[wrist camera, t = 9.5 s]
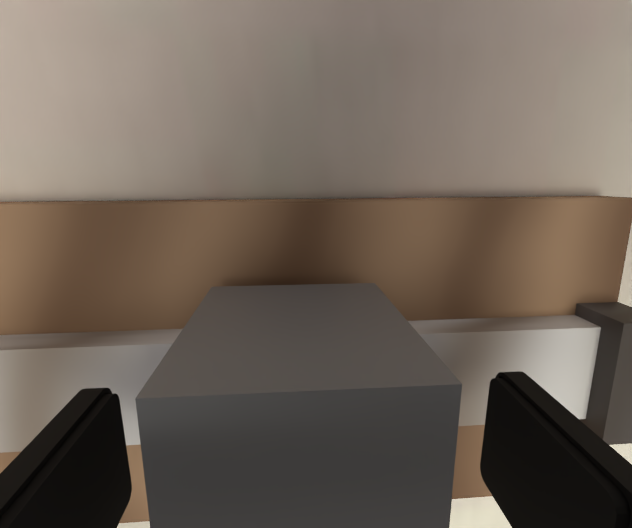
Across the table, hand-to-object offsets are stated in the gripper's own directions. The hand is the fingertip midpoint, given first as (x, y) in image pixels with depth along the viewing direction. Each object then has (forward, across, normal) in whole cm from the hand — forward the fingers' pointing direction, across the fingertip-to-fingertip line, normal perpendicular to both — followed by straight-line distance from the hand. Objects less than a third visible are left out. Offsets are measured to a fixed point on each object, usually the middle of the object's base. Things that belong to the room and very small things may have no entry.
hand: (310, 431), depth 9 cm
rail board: (+6, 0, +1) cm, 6 cm away
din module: (+4, 0, +1) cm, 4 cm away
